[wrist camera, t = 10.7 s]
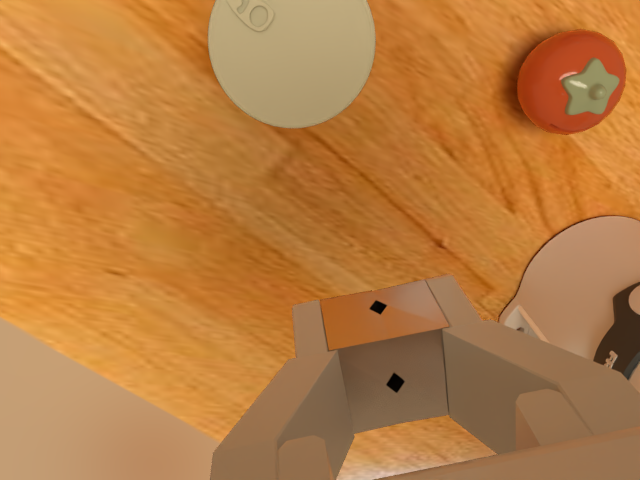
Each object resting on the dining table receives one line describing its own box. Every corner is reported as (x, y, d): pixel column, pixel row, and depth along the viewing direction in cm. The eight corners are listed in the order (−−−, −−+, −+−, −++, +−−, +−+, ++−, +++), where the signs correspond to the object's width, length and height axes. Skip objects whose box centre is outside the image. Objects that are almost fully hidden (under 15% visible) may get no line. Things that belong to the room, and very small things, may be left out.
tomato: (494, 123, 44) (539, 150, 37) (507, 25, 41) (559, 34, 33) (581, 121, 44) (642, 147, 37) (601, 24, 41) (672, 33, 34)
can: (270, -72, 36) (272, -96, 26) (373, 16, 39) (413, 27, 29) (198, 43, 39) (171, 64, 28) (299, 117, 42) (310, 162, 31)
